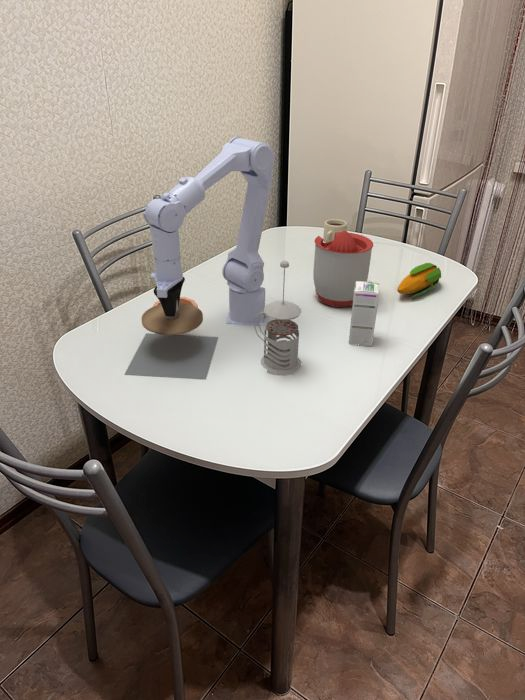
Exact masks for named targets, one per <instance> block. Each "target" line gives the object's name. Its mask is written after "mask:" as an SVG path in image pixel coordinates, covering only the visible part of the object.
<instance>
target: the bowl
mask: <svg viewBox="0 0 525 700" xmlns="http://www.w3.org/2000/svg"><path fill="white" fill-rule="evenodd" d="M179 303H186V304H190V305H193V306H195V307H197V308H199V305H198V303H197V302H196V301H195V300H194V299H191V298H188V297H186V296H180V302H179ZM160 304H161V303H160V301H159V300H157V301H156V302H154V304H153V305H152V307H154V306H157V305H160Z"/></svg>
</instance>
